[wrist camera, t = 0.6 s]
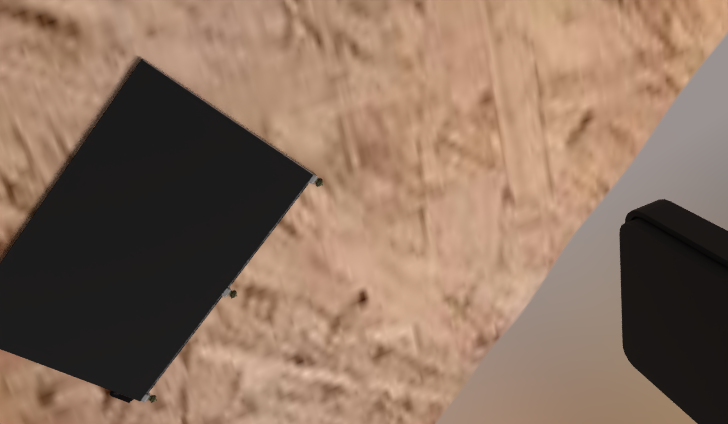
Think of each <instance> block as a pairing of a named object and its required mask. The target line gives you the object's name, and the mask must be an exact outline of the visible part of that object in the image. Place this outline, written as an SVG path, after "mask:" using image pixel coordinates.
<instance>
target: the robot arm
mask: <svg viewBox="0 0 728 424" xmlns="http://www.w3.org/2000/svg"><path fill="white" fill-rule="evenodd" d="M620 262H621V263H620V265H621V299H622V333H623V334H622V337H623V349H624V352H625V355H626V356H627V358H628V360H629V361H630V363H631V364H632V365H633V366H634V367H635V368H636V369H637V370H638V371H639V372H640V373H642V374H643V375H644V376H645V377H646V378H647V379H648V380H649V381H651V382H652V383H653V384H654V385H655V386H656V387H657V388H658V389H659V390H661V391H662V392H663V393H664V394H665V395H666V396H667V397H668V398H670V399H671V400H672V401H673V402H674V403H675V404H676V405H677V406H678V407H680V408H681V409H682V410H683V411H684V412H685V413H686V414H687V415H689V416H690V417H691V418H692V419H693V420H694V421H695V422H696V423H698V424H728V231H727V230H725V229H723V228H721V227H719V226H717V225H715V224H713V223H711V222H709V221H707V220H705V219H703V218H701V217H700V216H697V215H696V214H694V213H692V212H690V211H688V210H686V209H684V208H682V207H680V206H678V205H676V204H674V203H672V202H671V201H668V200H665V199H664V200H663V199H662V200H657V201H655V202H652V203H650V204H647V205H645V206H642V207H640V208H637V209H635V210H633V211H631V212H629V213H628V214H627V216H626V219H625V224H623V225H622V226H621V228H620Z"/></svg>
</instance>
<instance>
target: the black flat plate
mask: <svg viewBox="0 0 728 424" xmlns="http://www.w3.org/2000/svg"><path fill="white" fill-rule="evenodd" d="M317 178H318V177H317V176H316V174H314V173H312V172H310V171H309V170H307V169H306V168H304V167H303V166H301V165H300V164H298V163H297V162H295V161H294V160H292V159H291V158H289V157H288V156H286V155H285V154H283V153H282V152H280V151H279V150H277V149H276V148H274V147H273V146H272V145H270V144H269V143H267V142H266V141H264V140H263V139H261V138H260V137H258V136H257V135H255V134H254V133H252V132H251V131H249V130H248V129H246V128H245V127H243V126H242V125H240V124H239V123H237V122H236V121H234V120H233V119H231V118H230V117H228V116H227V115H225V114H224V113H222V112H221V111H219V110H218V109H216V108H215V107H213V106H212V105H210V104H209V103H207V102H206V101H204V100H203V99H201V98H200V97H198V96H197V95H196V94H194V93H193V92H191V91H190V90H188V89H187V88H185V87H184V86H182V85H181V84H179V83H178V82H176V81H175V80H173V79H172V78H170V77H169V76H167V75H166V74H164V73H163V72H161V71H160V70H158V69H157V68H155V67H154V66H152V65H151V64H149V63H148V62H146V61H145V60H142V59H141V61H140V62H139V64H138V65H137V67H136V68H135V70H134V71H133V72H132V74H131V75H130V77H129V78H128V80H127V81H126V83H125V84H124V85H123V87H122V88H121V90H120V91H119V93H118V94H117V96H116V97H115V98H114V100H113V101H112V103H111V104H110V106H109V107H108V109H107V110H106V111H105V113H104V114H103V116H102V117H101V119H100V120H99V122H98V123H97V125H96V126H95V127H94V129H93V130H92V132H91V133H90V135H89V136H88V138H87V139H86V140H85V142H84V143H83V145H82V146H81V148H80V149H79V151H78V152H77V153H76V155H75V156H74V158H73V159H72V161H71V162H70V164H69V165H68V166H67V168H66V169H65V171H64V172H63V174H62V175H61V177H60V178H59V180H58V181H57V182H56V184H55V185H54V187H53V188H52V190H51V191H50V193H49V194H48V195H47V197H46V198H45V200H44V201H43V203H42V204H41V206H40V207H39V208H38V210H37V211H36V213H35V214H34V216H33V217H32V219H31V220H30V221H29V223H28V224H27V226H26V227H25V229H24V230H23V232H22V233H21V235H20V236H19V237H18V239H17V240H16V242H15V243H14V245H13V246H12V248H11V249H10V250H9V252H8V253H7V255H6V256H5V258H4V259H3V261H2V262H1V263H0V349H1V350H4V351H7V352H10V353H12V354H15V355H18V356H20V357H23V358H26V359H28V360H31V361H34V362H36V363H39V364H42V365H44V366H47V367H50V368H52V369H55V370H58V371H60V372H63V373H66V374H68V375H71V376H74V377H77V378H79V379H82V380H85V381H87V382H90V383H93V384H95V385H98V386H101V387H103V388H106V389H109V390H111V391H110V395H111V396H112V397H115V398H118V399H120V400H123V401H126V402H128V403H130V401H132V400H133V399H135V400H138V401H142V402H146V401H147V399H150V401H151V403H152V402H154V401H155V400H156V395H155V396H152V397H151V396H150V393H149V391H150V390H151V389H152V387H153V386H154V385H155V383H156V382H157V381H158V380H159V378H160V377H161V376H162V374H163V373H164V372H165V370H166V369H167V368H168V366H169V365H170V364H171V363H172V361H173V360H174V359H175V357H176V356H177V355H178V353H179V352H180V351H181V350H182V348H183V347H184V346H185V344H186V343H187V342H188V340H189V339H190V338H191V336H192V335H193V334H194V333H195V331H196V330H197V329H198V327H199V326H200V325H201V323H202V322H203V321H204V320H205V318H206V317H207V316H208V314H209V313H210V312H211V310H212V309H213V308H214V306H215V305H216V304H217V303H218V301H219V300H220V299H221V297H222V296H224V297H226V296H227V295H228V294H231V295H230V296H231V298H234V297H235V296H237V295H236V291H233V292H231V289H230V286H231V284H232V283H233V282H234V280H235V279H236V278H237V276H238V275H239V274H240V273H241V271H242V270H243V269H244V267H245V266H246V265H247V263H248V262H249V261H250V260H251V258H252V257H253V256H254V254H255V253H256V252H257V250H258V249H259V248H260V246H261V245H262V244H263V243H264V241H265V240H266V239H267V237H268V236H269V235H270V233H271V232H272V231H273V230H274V228H275V227H276V226H277V224H278V223H279V222H280V220H281V219H282V218H283V216H284V215H285V214H286V213H287V211H288V210H289V209H290V207H291V206H292V205H293V203H294V202H295V201H296V200H297V198H298V197H299V196H300V194H301V193H302V192H303V190H304V189H305V188H306V186H307V185H308V184H309V183H311V184H313V183H314V182H317V183H316V185H317V187H318V186H321V185H323V184H322V182H323V181H322V179H319V180H317ZM113 391H114V392H113ZM116 392H117V393H116ZM121 394H122V395H121ZM124 395H125V396H124Z"/></svg>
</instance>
